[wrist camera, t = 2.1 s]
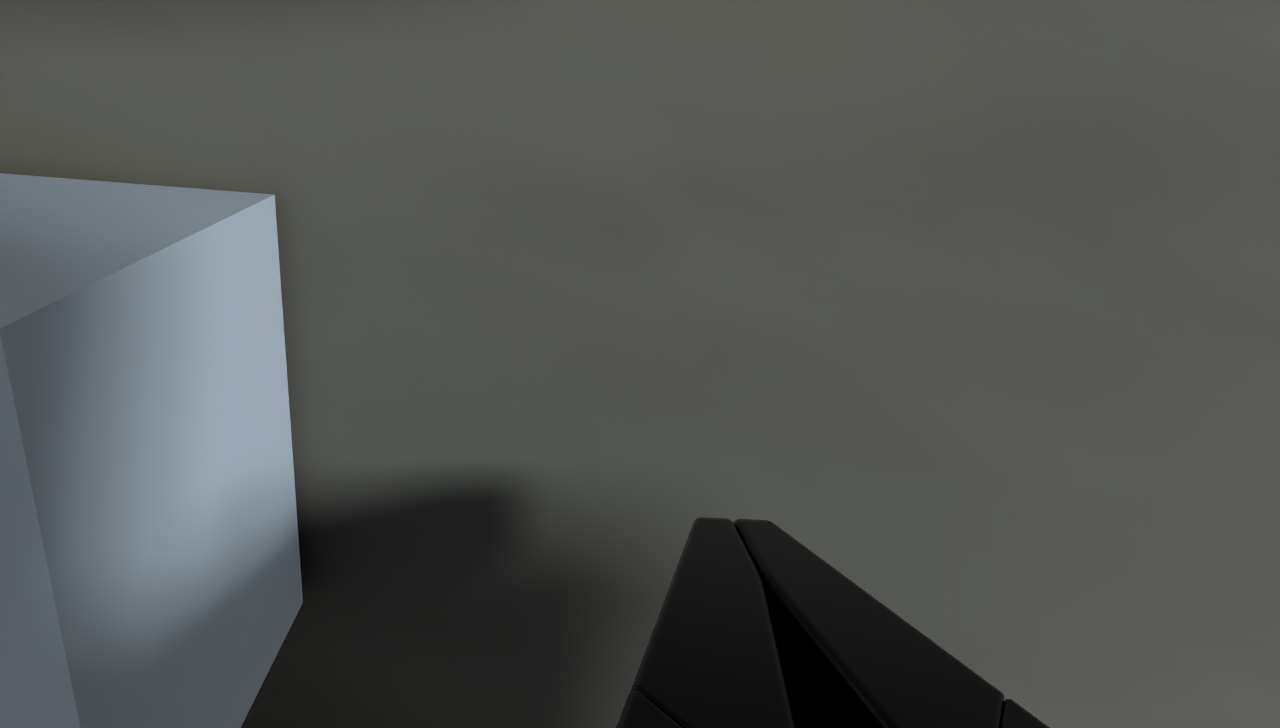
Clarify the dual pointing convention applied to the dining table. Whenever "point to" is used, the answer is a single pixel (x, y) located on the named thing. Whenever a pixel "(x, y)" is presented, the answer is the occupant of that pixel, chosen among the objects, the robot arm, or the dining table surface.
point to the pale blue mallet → (141, 455)
